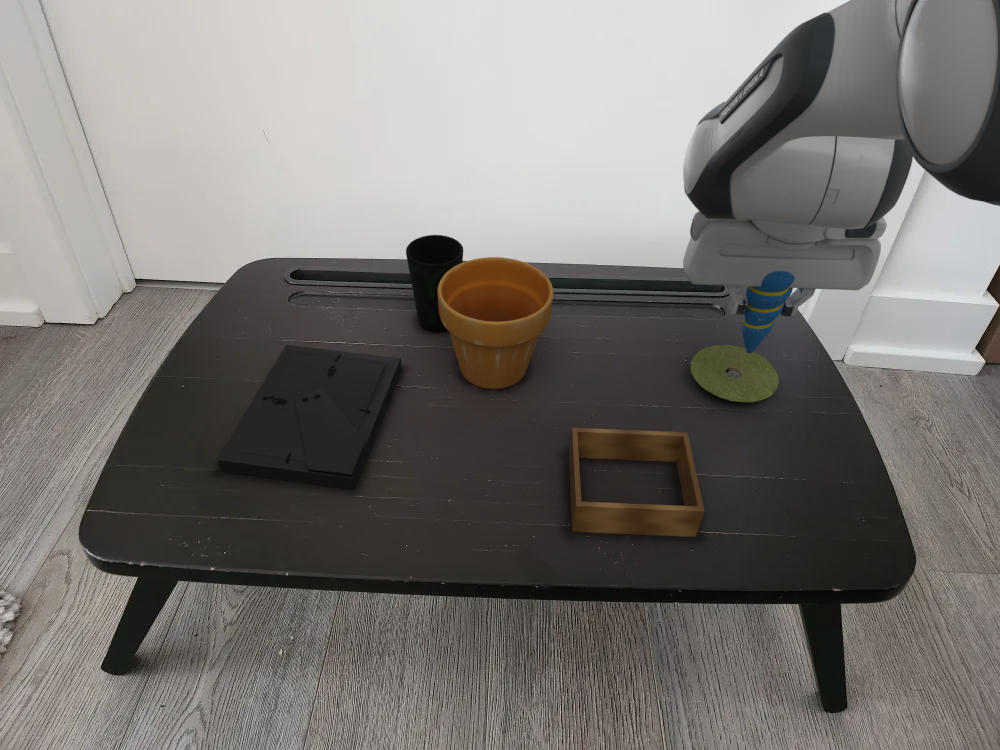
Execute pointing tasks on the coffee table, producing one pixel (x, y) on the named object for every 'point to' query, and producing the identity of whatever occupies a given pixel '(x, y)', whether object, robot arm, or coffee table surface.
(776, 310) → the ornament
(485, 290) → the flower pot
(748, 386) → the green flat round disc
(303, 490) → the coffee table surface
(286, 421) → the picture frame
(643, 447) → the wooden box
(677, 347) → the coffee table surface
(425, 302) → the cup
